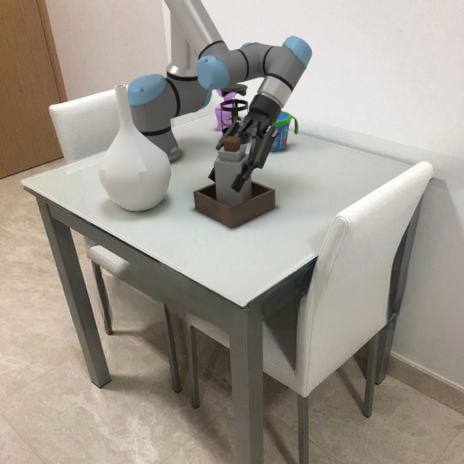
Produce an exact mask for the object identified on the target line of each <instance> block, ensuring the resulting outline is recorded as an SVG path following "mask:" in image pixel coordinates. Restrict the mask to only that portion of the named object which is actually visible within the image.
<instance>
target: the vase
mask: <svg viewBox="0 0 464 464" xmlns="http://www.w3.org/2000/svg"><path fill="white" fill-rule="evenodd" d="M114 92H115V93H114V94H115V98H116V105H117V112H118V118H119V129H118V133H117V134H116V136H115V138H114V139H113V141H112V142H111V144H110V146H109V148H108V149H107V150H106V152H105V153H104V154H103V155H102V157H101V158H100V160H99V161H98V178H99V181H100V184H101V185H102V187H103V189H104V191H105V192H106V194H107V195H108V197H109V198H110V200H112V202H113V203H115V204H116V205H117V206H119V207H120V208H122V209H123V210H125V211H130V212H143V211H148V210H150V209H153V208H155V207H157V206H158V205H159V204H160V202H162V201H163V199H164V197H165V195H166V194H167V191H168V190H169V187H170V182H171V176H172V169H171V162H169V159H168V157H167V154H166V153H165V152H164V151H162V150H161V149H160V148H158V147H157V146H156V145H154V144H153V143H152V142H150V141H149V140H148V139H147V138H146V137H145V136H144V135H142V134H141V133H140V132H139V131H138V130H137V128H136V127H135V125H134V123H133V121H132V115H131V109H130V104H129V99H128V94H127V85H126V84H124V83H120V84H116V85H114Z"/></svg>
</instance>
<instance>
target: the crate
mask: <svg viewBox="0 0 464 464" xmlns="http://www.w3.org/2000/svg"><path fill="white" fill-rule="evenodd" d="M251 195H252V199H250V200H248V201H245V202H243V203H241V204H239V205H237V206H235V207H230V206H227V205H225V204H223V203H221V202H219V201H217V195H216V183H215V182H213V183H211V184H208V185H206V186H204V187H201V188H199V189H196V190H193V202H194V210H196V211H198V212H199V213H201V214H204V215H206V216H207V217H209V218H211V219H213V220H215V221H217V222H218V223H219V222H220V223H221V224H223V225H225V226H227V227H229V228H231V229H235V228H237V227H239V226H241V225H243V224H244V223H247V222H249V221H251V220H254V219H255V218H257V217H259V216H261V215H263V214H265V213H267V212H270V211H272V210H274V209H275V208H276V189H275V188H272V187H270V186H267V185H264V184H261V183H259V182H257V181H254V180H252V179H251Z"/></svg>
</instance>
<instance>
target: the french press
mask: <svg viewBox="0 0 464 464" xmlns="http://www.w3.org/2000/svg"><path fill="white" fill-rule="evenodd" d="M248 89H249V86H248V85H247V84H243V83H237V84H234V85H230V86H227V87H225V88H223V89H220V91H221V96H222V97H225V96H226V95H228V94H229V93H232V92H233V98H232V100H227V101H224V100H223V101H221V102H220V103H221V104H220V103H219V104H220V106H221V122H223V123H222V130H221V138H222V137H223V136H224V134H225V133H226V131H227V130H228V129H229V127H230V126H231V124H232V123H233V120H234V117H235V116H236V115H238V116H239V112H243V111H245V110H246V111H247V112H249V102H248V100H246V99H245V100H244V99H239V98H235V97H236V95H235V96H234V92H235V93H237V94H238V95H240V96H241V97H245V96H247V90H248ZM222 97H221V98H222ZM228 104H232V108H231V107H224V106H225V105H228ZM239 105H241V106H239ZM222 110H223V111H227V112H231V117H230V118H226V119H224V120H223V121H222ZM223 125H225V126H229V127H226V128H224V129H223ZM243 133H244V131H243ZM244 134H245V133H244ZM250 141H251V137H249V138H248V139H247V140H244V141H243V142H242V143H241V144H240V145H244V144H247V143H249V142H250Z"/></svg>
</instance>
